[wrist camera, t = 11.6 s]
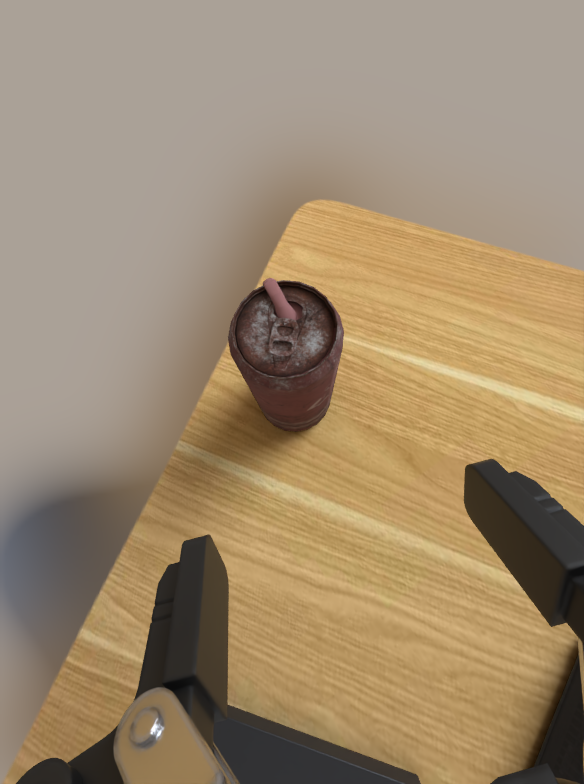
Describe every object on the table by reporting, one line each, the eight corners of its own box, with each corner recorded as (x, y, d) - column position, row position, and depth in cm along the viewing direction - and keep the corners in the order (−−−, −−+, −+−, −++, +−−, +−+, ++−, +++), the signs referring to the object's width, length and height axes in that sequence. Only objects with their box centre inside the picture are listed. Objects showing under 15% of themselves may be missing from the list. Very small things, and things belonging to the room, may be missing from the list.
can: (307, 351, 33) (305, 251, 19) (342, 411, 31) (368, 348, 18) (247, 382, 32) (203, 301, 19) (280, 445, 31) (257, 406, 17)
